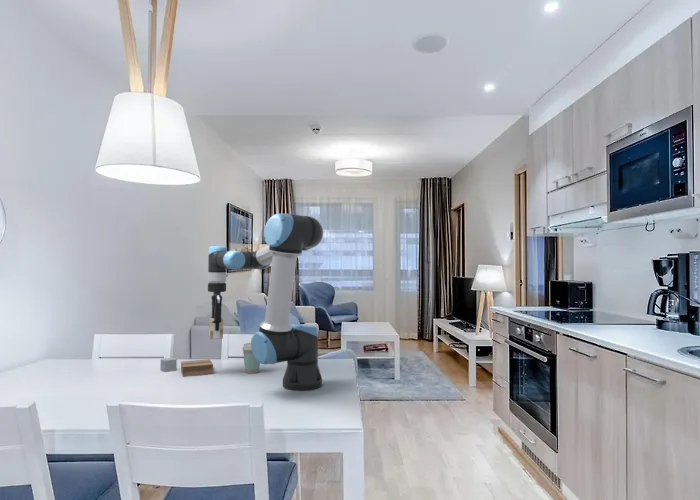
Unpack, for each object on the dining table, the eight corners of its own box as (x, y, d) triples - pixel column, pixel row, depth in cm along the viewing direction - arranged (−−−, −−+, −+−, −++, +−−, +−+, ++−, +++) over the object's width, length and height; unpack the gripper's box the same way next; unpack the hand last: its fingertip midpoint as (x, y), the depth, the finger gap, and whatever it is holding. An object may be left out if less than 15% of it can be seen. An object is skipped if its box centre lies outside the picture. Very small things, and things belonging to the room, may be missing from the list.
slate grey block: (176, 370, 196) (176, 359, 197) (164, 372, 193) (165, 360, 193) (171, 368, 200) (171, 357, 200) (160, 370, 197) (160, 359, 197)
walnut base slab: (212, 374, 190) (213, 364, 190) (182, 376, 185) (182, 367, 185) (209, 368, 201) (209, 359, 201) (181, 370, 196) (181, 361, 196)
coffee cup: (264, 370, 197) (264, 342, 198) (258, 374, 189) (259, 346, 189) (245, 369, 198) (246, 342, 199) (239, 374, 190) (239, 345, 190)
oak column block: (222, 338, 189) (223, 319, 189) (210, 339, 187) (210, 319, 187) (221, 336, 194) (221, 318, 194) (209, 337, 192) (209, 318, 192)
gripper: (229, 283, 184) (227, 340, 184) (223, 281, 201) (222, 333, 200) (210, 283, 181) (208, 341, 181) (205, 281, 198) (204, 334, 197)
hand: (215, 337), depth 190 cm, fingers closed on oak column block, 5 cm apart
